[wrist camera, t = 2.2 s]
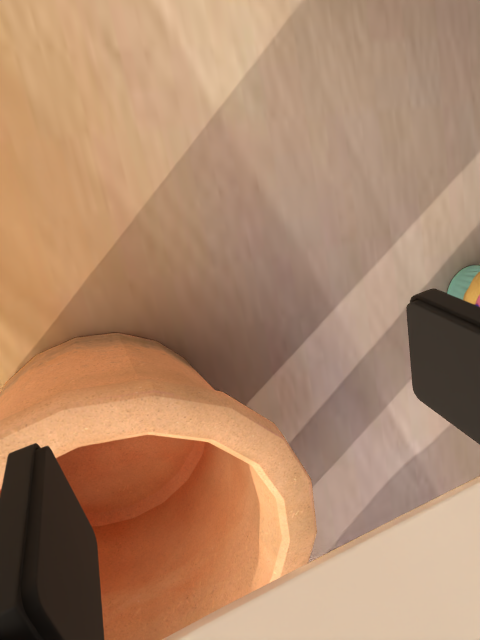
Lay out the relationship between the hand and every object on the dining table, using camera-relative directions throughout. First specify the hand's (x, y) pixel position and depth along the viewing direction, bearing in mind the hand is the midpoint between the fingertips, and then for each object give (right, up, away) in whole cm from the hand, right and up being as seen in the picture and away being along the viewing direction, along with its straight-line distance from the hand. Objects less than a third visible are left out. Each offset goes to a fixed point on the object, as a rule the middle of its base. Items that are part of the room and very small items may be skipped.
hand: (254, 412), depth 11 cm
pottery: (-11, -6, +25) cm, 28 cm away
